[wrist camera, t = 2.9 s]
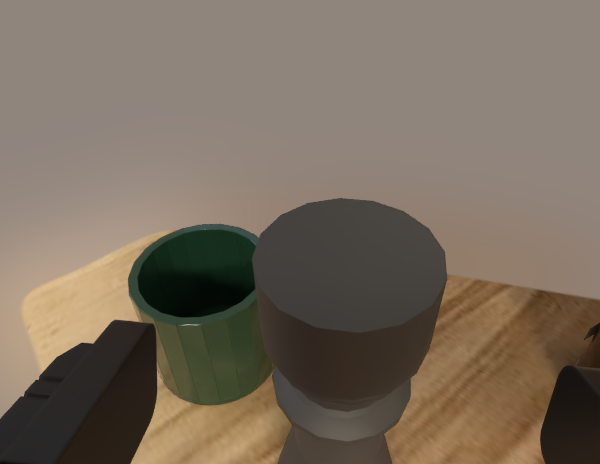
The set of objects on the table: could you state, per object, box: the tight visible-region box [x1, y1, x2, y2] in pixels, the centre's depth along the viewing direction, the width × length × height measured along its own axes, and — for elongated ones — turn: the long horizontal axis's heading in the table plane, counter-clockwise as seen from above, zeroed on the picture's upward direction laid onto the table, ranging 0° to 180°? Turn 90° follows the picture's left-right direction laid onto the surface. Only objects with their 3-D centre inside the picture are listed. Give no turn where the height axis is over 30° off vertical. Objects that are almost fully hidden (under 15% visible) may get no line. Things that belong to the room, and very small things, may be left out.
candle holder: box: [252, 198, 447, 464], centre depth 22 cm, size 6×6×25 cm
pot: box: [128, 224, 275, 405], centre depth 38 cm, size 11×11×10 cm
